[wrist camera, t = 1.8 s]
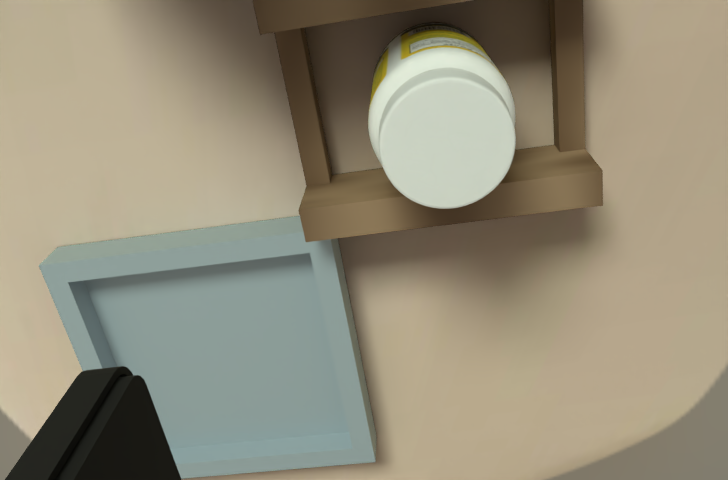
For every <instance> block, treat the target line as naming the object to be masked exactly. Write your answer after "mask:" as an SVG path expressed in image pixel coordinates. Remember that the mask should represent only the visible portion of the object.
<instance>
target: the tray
mask: <svg viewBox="0 0 728 480" xmlns="http://www.w3.org/2000/svg"><path fill="white" fill-rule="evenodd" d="M39 267H40V270H41V272H42V274H43V277H44V279H45V282H46V284H47V286H48V289H49V291H50V294H51V296H52V298H53V301H54V303H55V306H56V308H57V310H58V313H59V315H60V317H61V320H62V322H63V325H64V327H65V329H66V332H67V334H68V337H69V339H70V341H71V344H72V346H73V349H74V351H75V353H76V356H77V358H78V361H79V363H80V365H81V368H82V370H83V371H86V370H92V369H101V368H110V367H120V366H124V367H127V368H128V369H129V370H130V371H131V372H132V374H133V376H134V375H139V376H141V377H142V378H143V379H144V380H145V382H146V385H147V387H148V390H149V393H150V395H151V398H152V401H153V404H154V406H155V409H156V412H157V414H158V417H159V420H160V423H161V425H162V428H163V431H164V433H165V436H166V439H167V442H168V444H169V447H170V450H171V452H172V455H173V458H174V461H175V463H176V466H177V469H178V472H179V474H180V477H181V479H183V478H195V477H207V476H218V475H230V474H242V473H253V472H265V471H277V470H288V469H300V468H312V467H323V466H335V465H347V464H358V463H370V462H376V439H377V436H376V431H375V426H374V421H373V416H372V411H371V406H370V400H369V395H368V390H367V385H366V380H365V375H364V370H363V365H362V360H361V355H360V349H359V344H358V339H357V334H356V329H355V324H354V319H353V314H352V309H351V303H350V298H349V293H348V288H347V283H346V278H345V273H344V268H343V263H342V258H341V252H340V247H339V242H338V238H336V239H328V240H320V241H312V242H306V241H305V237H304V232H303V228H302V223H301V219H300V216H295V217H287V218H279V219H272V220H264V221H256V222H248V223H241V224H233V225H225V226H217V227H210V228H202V229H194V230H186V231H179V232H171V233H163V234H155V235H148V236H140V237H132V238H124V239H117V240H109V241H101V242H93V243H86V244H78V245H70V246H62V247H57V248H56V249H55V250H54V251H53V252H52V253H51V254H50V255H49V256H48V257H47V258H46V259H45V260H44V261H43V262H42V263H41V264H40V265H39Z"/></svg>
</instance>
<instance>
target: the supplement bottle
mask: <svg viewBox="0 0 728 480" xmlns="http://www.w3.org/2000/svg"><path fill="white" fill-rule="evenodd" d="M368 131H369V137H370V141H371V144H372V147H373V150H374V152H375V154H376V156H377V158H378V160H379V161H380V163H381V164H382V166H383V169H384V171H385V173H386V175H387V177H388V179H389V180H390V181H391V183H392V184H393V186H394V187H395V188H396V189H397V190H398V191H399V192H400V193H402V194H403V195H404V196H406V197H407V198H409V199H410V200H412V201H414V202H416V203H418V204H421V205H424V206H427V207H432V208H439V209H450V208H458V207H462V206H466V205H469V204H472V203H474V202H476V201H478V200H480V199H482V198H483V197H485V196H486V195H488V194H489V193H490V192H491V191H492V190H494V189H495V188H496V187H497V186H498V185H499V183H500V182H501V181H502V180H503V178H504V177H505V175H506V174H507V172H508V170H509V168H510V166H511V163H512V160H513V157H514V153H515V145H516V135H515V105H514V100H513V97H512V93H511V91H510V88H509V86H508V84H507V82H506V80H505V79H504V77H503V76H502V74H501V73H500V71H499V70H498V69H497V67H496V66H495V65H494V63H493V62H492V60H491V59H490V58H489V56H488V55H487V53H486V52H485V51H484V49H483V48H482V46H481V45H480V44H479V43H478V42H477V41H476V40H475V39H474V38H473V37H472V36H471V35H469V34H468V33H467V32H465V31H463V30H462V29H459V28H457V27H455V26H452V25H448V24H443V23H427V24H421V25H418V26H414V27H412V28H410V29H408V30H406V31H404V32H402V33H401V34H399V35H398V36H397V37H395V38H394V39H393V40H392V41H391V42H390V43H389V44H388V46H387V47H386V48H385V50H384V51H383V53H382V54H381V56H380V58H379V60H378V62H377V65H376V67H375V71H374V75H373V83H372V92H371V100H370V107H369V115H368Z"/></svg>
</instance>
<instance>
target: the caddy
mask: <svg viewBox="0 0 728 480" xmlns="http://www.w3.org/2000/svg"><path fill="white" fill-rule="evenodd" d="M466 1H472V0H253V4H254V9H255V13H256V18H257V23H258V27H259V32H260V35H261V34H267V33H273V32H274V33H275V38H276V43H277V47H278V52H279V57H280V62H281V66H282V71H283V76H284V81H285V85H286V90H287V95H288V100H289V104H290V109H291V114H292V119H293V123H294V128H295V133H296V138H297V142H298V147H299V152H300V157H301V161H302V166H303V171H304V176H305V180H306V185H307V187H306V190H305V193H304V196H303V199H302V202H301V204H300V207H299V214H300V219H301V223H302V228H303V232H304V237H305V241H306V242H312V241H320V240H328V239H336V238H344V237H352V236H360V235H368V234H376V233H384V232H393V231H401V230H409V229H417V228H425V227H433V226H441V225H449V224H457V223H465V222H473V221H481V220H489V219H497V218H505V217H513V216H521V215H529V214H537V213H545V212H553V211H561V210H569V209H577V208H585V207H594V206H602V205H603V182H602V169H601V168H600V167H599V166H598V164H597V163H596V162H595V161H594V159H593V158H592V157H591V156H590V154H589V153H588V152H587V151H586V149H585V108H584V51H583V0H549V14H550V40H551V66H552V92H553V119H554V145H549V146H542V147H534V148H527V149H520V150H515V153H514V157H513V160H512V163H511V166H510V168H509V170H508V172H507V174H506V175H505V177H504V178H503V180H502V181H501V182H500V183H499V185H498V186H497V187H496V188H495V189H494V190H492V191H491V192H490V193H489V194H488V195H486V196H485V197H483V198H482V199H480V200H478V201H476V202H474V203H472V204H469V205H466V206H462V207H458V208H450V209H439V208H432V207H427V206H424V205H421V204H418V203H416V202H414V201H412V200H410V199H409V198H407V197H406V196H404V195H403V194H402V193H400V192H399V191H398V190H397V189H396V188H395V187H394V186H393V184H392V183H391V181H390V180H389V179H388V177H387V175H386V173H385V171H384V169H383V168H379V169H372V170H365V171H357V172H350V173H342V174H335V175H332V171H331V165H330V160H329V155H328V150H327V144H326V139H325V134H324V129H323V124H322V118H321V113H320V108H319V103H318V97H317V92H316V87H315V82H314V76H313V71H312V66H311V61H310V56H309V50H308V45H307V40H306V35H305V29H304V27H311V26H317V25H323V24H329V23H335V22H342V21H348V20H354V19H360V18H366V17H373V16H379V15H385V14H391V13H397V12H404V11H410V10H416V9H422V8H428V7H435V6H441V5H447V4H453V3H459V2H466Z"/></svg>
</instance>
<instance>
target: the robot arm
mask: <svg viewBox="0 0 728 480" xmlns="http://www.w3.org/2000/svg"><path fill="white" fill-rule="evenodd" d="M5 480H181V477H180V474H179V472H178V469H177V466H176V463H175V461H174V458H173V455H172V452H171V450H170V447H169V444H168V442H167V439H166V436H165V433H164V431H163V428H162V425H161V423H160V420H159V417H158V414H157V412H156V409H155V406H154V404H153V401H152V398H151V395H150V393H149V390H148V387H147V385H146V382H145V380H144V379H143V378H142V377H141V376H139V375H134V376H133V374H132V372H131V371H130V370H129V369H128V368H127V367H124V366H120V367H110V368H101V369H92V370H86V371H83V372H81V373H80V374H79V375H78V376H77V377H76V379H75V380H74V382H73V383H72V385H71V386H70V387H69V389H68V390H67V392H66V393H65V395H64V396H63V397H62V399H61V400H60V402H59V403H58V405H57V406H56V407H55V409H54V410H53V412H52V413H51V415H50V416H49V417H48V419H47V420H46V422H45V423H44V425H43V426H42V427H41V429H40V430H39V432H38V433H37V435H36V436H35V437H34V439H33V440H32V442H31V443H30V445H29V446H28V447H27V449H26V450H25V452H24V453H23V455H22V456H21V457H20V459H19V460H18V462H17V463H16V465H15V466H14V468H13V469H12V470H11V472H10V473H9V475H8V476H7V478H6V479H5Z"/></svg>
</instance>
